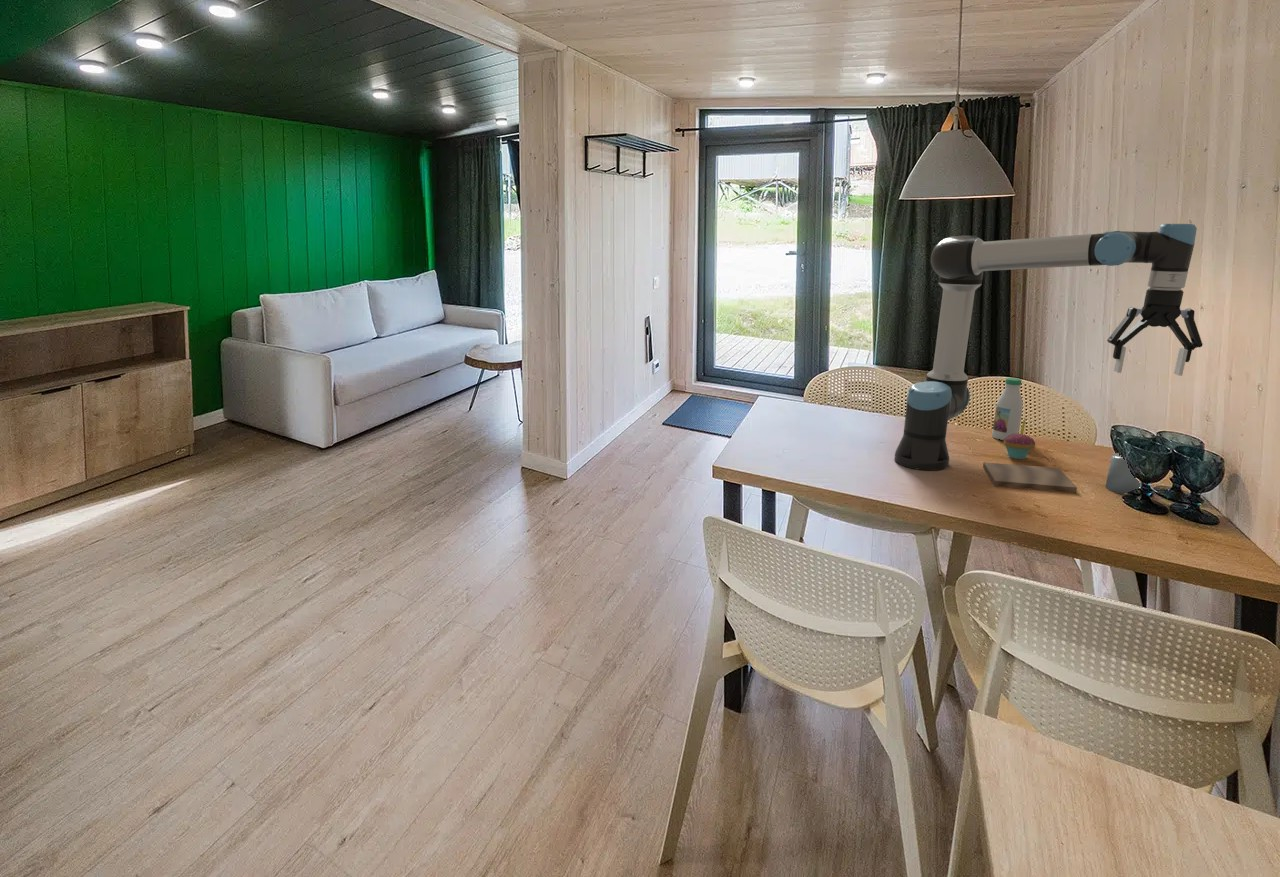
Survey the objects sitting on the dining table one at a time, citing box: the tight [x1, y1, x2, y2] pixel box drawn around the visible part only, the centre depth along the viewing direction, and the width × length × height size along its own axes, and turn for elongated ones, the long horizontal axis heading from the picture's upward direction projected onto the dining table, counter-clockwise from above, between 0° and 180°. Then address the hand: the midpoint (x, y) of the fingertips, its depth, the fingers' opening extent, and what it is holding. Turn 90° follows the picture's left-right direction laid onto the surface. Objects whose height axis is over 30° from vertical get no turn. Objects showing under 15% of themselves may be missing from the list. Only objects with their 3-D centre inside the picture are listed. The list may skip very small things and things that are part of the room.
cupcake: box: [1002, 417, 1036, 460], centre depth 218 cm, size 9×8×12 cm
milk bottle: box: [991, 377, 1024, 441], centre depth 235 cm, size 8×8×20 cm
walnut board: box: [982, 461, 1078, 494], centre depth 200 cm, size 20×16×2 cm
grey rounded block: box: [1105, 452, 1140, 495], centre depth 192 cm, size 8×8×9 cm
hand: (1147, 373), depth 184 cm, fingers open, 13 cm apart
